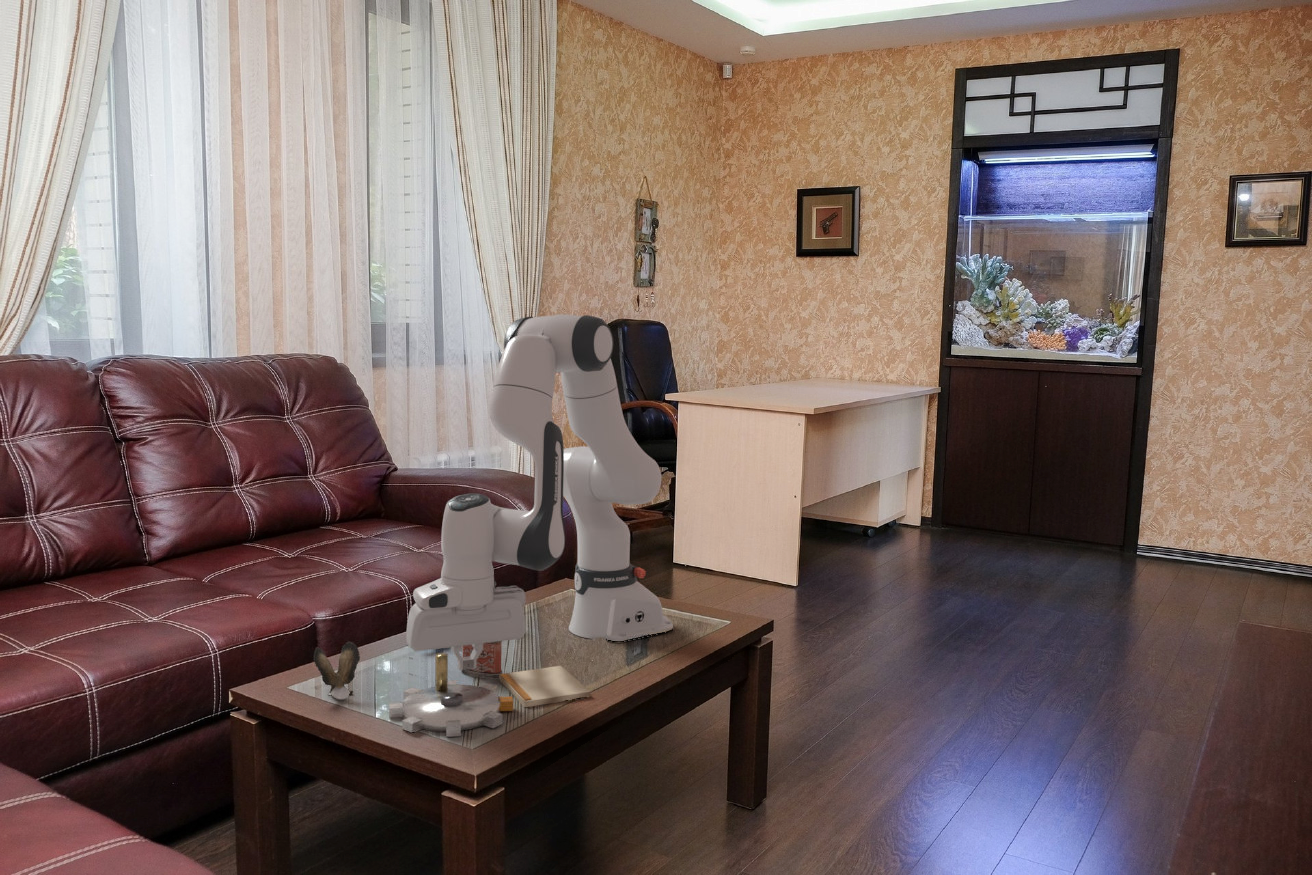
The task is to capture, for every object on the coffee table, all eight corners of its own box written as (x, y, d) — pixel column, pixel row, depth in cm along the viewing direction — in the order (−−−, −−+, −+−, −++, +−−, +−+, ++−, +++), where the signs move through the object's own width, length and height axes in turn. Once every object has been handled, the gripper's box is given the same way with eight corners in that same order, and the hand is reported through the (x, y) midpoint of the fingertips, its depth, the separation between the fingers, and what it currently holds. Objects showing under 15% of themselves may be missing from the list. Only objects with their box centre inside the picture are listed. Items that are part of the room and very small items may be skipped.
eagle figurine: (344, 686, 179) (343, 637, 178) (369, 696, 174) (369, 646, 173) (306, 699, 173) (305, 648, 172) (331, 709, 168) (330, 657, 167)
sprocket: (491, 682, 181) (491, 641, 180) (529, 724, 164) (529, 679, 163) (378, 699, 172) (378, 656, 171) (405, 745, 155) (404, 697, 154)
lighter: (505, 674, 187) (506, 621, 186) (496, 680, 184) (497, 626, 183) (467, 667, 190) (467, 616, 188) (457, 673, 186) (458, 621, 185)
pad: (560, 670, 189) (560, 664, 189) (590, 696, 177) (590, 690, 177) (499, 679, 184) (499, 673, 184) (524, 707, 172) (524, 700, 172)
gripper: (519, 580, 180) (518, 655, 182) (403, 591, 171) (403, 670, 173) (531, 589, 175) (530, 666, 176) (412, 600, 165) (412, 682, 167)
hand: (466, 668), depth 174 cm, fingers closed
